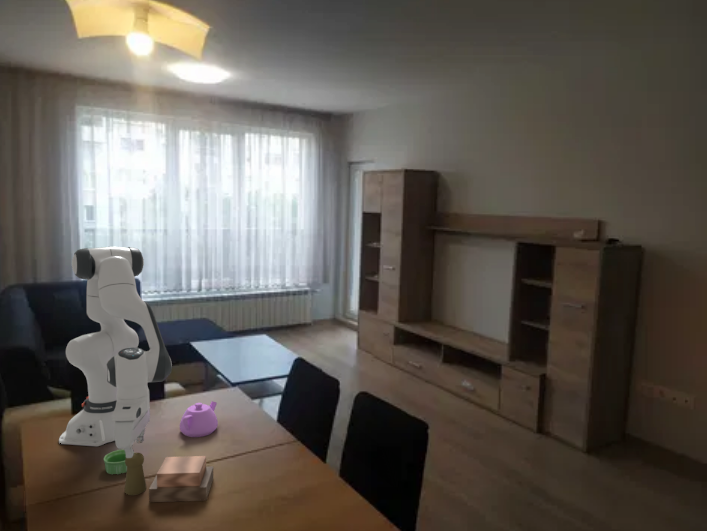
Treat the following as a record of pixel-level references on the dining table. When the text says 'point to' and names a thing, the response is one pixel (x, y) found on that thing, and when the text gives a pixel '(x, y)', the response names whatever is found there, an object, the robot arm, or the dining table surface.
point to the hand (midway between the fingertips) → (135, 449)
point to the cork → (135, 475)
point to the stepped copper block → (182, 480)
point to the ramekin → (115, 462)
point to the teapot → (199, 420)
